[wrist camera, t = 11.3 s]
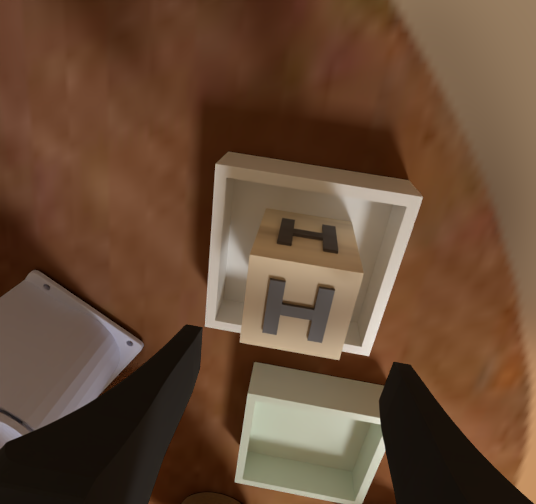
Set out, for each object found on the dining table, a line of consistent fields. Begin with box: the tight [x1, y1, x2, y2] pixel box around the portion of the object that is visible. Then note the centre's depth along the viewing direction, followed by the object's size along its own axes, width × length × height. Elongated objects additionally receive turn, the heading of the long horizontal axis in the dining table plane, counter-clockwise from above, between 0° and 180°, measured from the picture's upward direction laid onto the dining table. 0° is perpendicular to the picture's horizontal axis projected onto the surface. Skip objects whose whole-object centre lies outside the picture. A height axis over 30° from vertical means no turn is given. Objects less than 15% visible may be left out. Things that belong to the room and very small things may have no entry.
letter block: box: [240, 208, 364, 360], centre depth 20 cm, size 5×5×6 cm
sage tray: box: [235, 362, 385, 504], centre depth 28 cm, size 10×10×3 cm
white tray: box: [205, 152, 423, 356], centre depth 21 cm, size 10×10×3 cm
